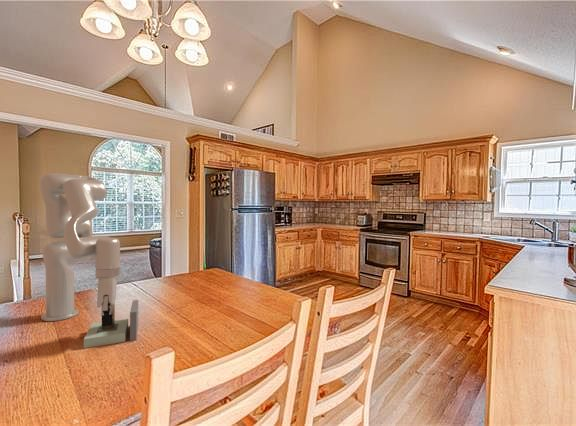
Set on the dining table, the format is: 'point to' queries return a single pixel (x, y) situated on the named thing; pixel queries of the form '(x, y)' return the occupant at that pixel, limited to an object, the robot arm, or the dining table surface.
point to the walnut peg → (113, 319)
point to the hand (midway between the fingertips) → (108, 322)
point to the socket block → (106, 334)
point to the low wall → (134, 320)
